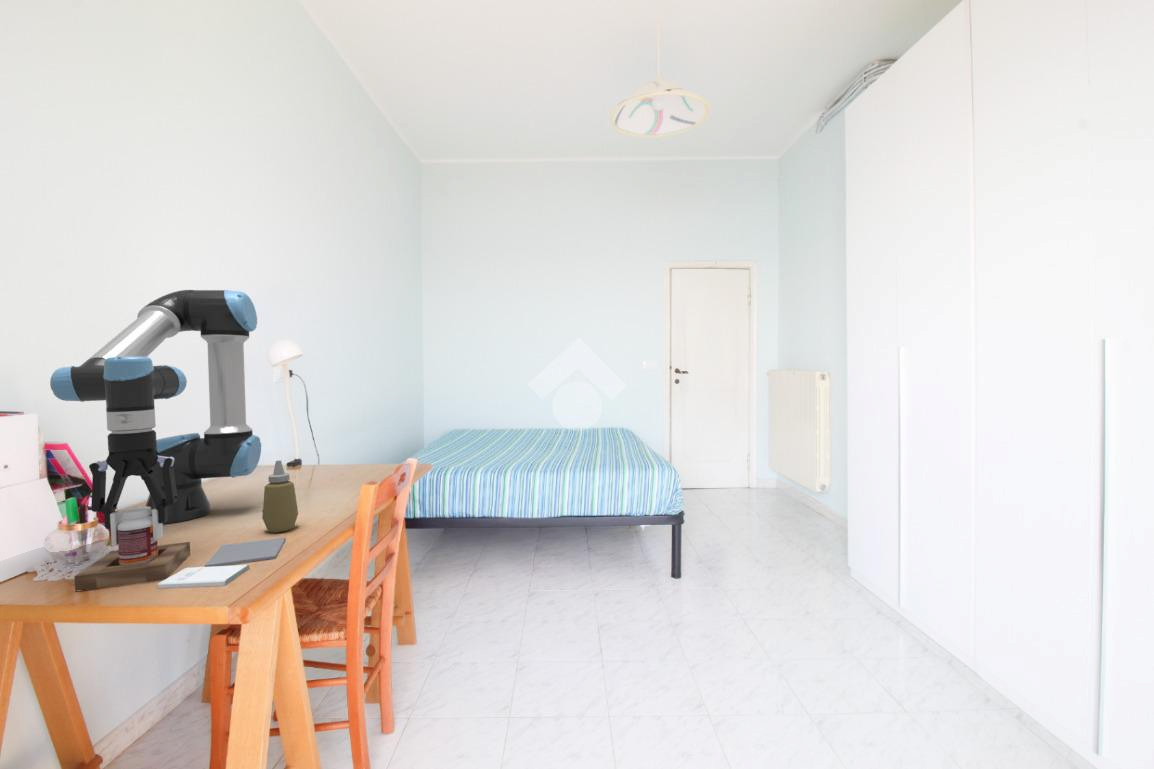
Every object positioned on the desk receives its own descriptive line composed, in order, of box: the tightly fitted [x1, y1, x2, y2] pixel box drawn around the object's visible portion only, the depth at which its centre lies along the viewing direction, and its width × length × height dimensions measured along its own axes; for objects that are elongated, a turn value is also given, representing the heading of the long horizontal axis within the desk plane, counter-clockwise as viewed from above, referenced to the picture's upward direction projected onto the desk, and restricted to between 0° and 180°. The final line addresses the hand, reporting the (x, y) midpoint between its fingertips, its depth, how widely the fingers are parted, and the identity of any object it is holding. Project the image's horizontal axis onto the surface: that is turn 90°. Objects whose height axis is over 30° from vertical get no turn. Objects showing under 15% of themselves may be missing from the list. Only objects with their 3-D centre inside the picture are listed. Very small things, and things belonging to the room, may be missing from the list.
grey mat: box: [203, 536, 287, 567], centre depth 114 cm, size 13×13×1 cm
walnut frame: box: [73, 541, 191, 592], centre depth 104 cm, size 14×14×3 cm
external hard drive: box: [157, 564, 251, 589], centre depth 100 cm, size 2×8×12 cm
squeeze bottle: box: [261, 460, 299, 533], centre depth 130 cm, size 8×8×18 cm
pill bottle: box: [117, 506, 159, 565], centre depth 105 cm, size 6×6×11 cm
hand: (138, 540), depth 105 cm, fingers closed on pill bottle, 6 cm apart
